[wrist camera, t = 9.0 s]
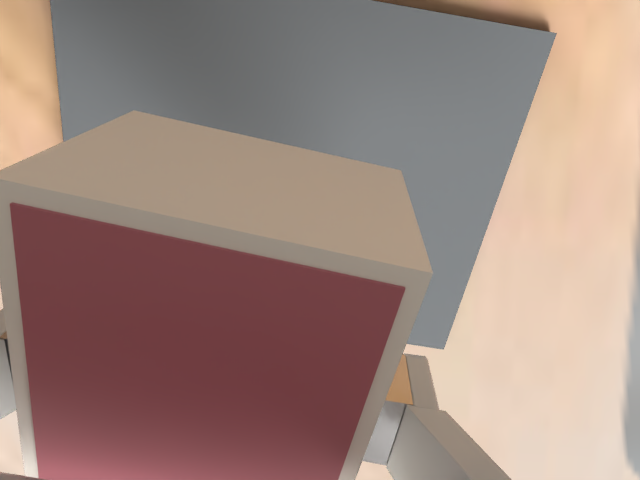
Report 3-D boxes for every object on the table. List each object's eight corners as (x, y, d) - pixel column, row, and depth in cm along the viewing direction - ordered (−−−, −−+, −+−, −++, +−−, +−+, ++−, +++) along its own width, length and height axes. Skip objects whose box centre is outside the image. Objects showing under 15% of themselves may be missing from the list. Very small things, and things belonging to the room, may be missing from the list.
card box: (134, 110, 10) (-16, 177, 6) (400, 170, 10) (434, 275, 6) (126, 403, 14) (34, 564, 10) (318, 442, 14) (304, 614, 10)
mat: (83, 286, 25) (78, 291, 25) (53, -56, 18) (44, -58, 17) (441, 342, 26) (443, 349, 25) (550, 32, 18) (556, 33, 18)
